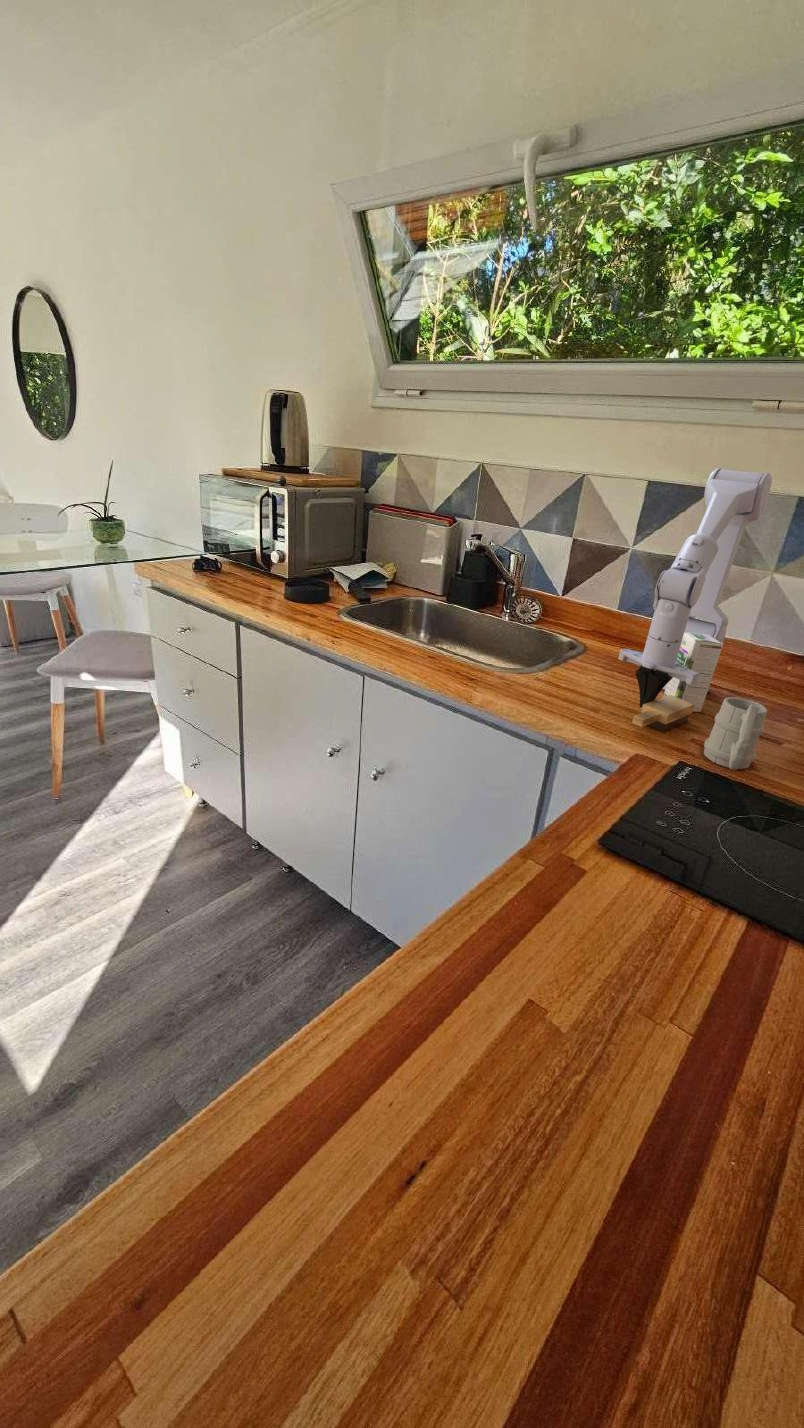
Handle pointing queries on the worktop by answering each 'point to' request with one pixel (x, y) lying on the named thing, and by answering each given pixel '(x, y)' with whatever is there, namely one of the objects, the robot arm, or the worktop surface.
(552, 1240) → the worktop surface
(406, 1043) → the worktop surface
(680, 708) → the scrub brush
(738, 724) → the mug
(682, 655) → the syrup box
